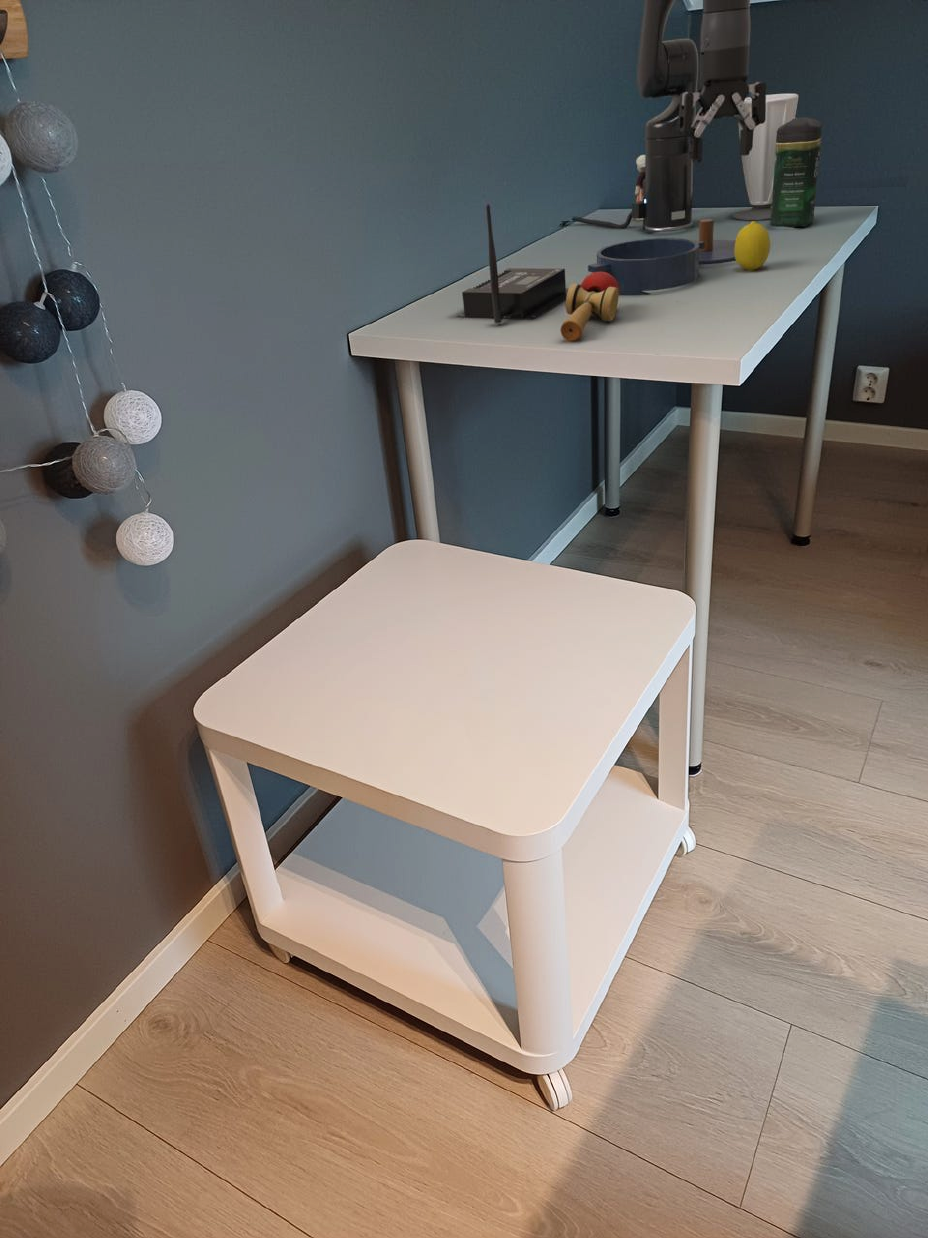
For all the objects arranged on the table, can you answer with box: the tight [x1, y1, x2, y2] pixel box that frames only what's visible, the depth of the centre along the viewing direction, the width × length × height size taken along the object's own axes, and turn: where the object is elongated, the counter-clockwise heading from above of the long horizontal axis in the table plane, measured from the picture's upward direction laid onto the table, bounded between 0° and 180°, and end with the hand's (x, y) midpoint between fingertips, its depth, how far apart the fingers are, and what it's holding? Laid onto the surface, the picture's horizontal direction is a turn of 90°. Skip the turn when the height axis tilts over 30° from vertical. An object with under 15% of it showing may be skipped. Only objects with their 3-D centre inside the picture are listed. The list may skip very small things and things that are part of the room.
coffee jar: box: [769, 116, 823, 229], centre depth 180 cm, size 10×8×19 cm
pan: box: [587, 237, 705, 296], centre depth 155 cm, size 16×22×5 cm
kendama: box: [560, 272, 620, 342], centre depth 137 cm, size 8×6×18 cm
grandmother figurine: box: [634, 154, 645, 221], centre depth 203 cm, size 8×4×13 cm, turn 154°
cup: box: [732, 93, 799, 221], centre depth 190 cm, size 12×12×22 cm
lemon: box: [734, 220, 771, 272], centre depth 153 cm, size 6×6×8 cm
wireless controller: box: [456, 203, 568, 324], centre depth 147 cm, size 20×14×17 cm
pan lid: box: [698, 218, 736, 265], centre depth 167 cm, size 17×17×6 cm
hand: (720, 158), depth 156 cm, fingers open, 8 cm apart
